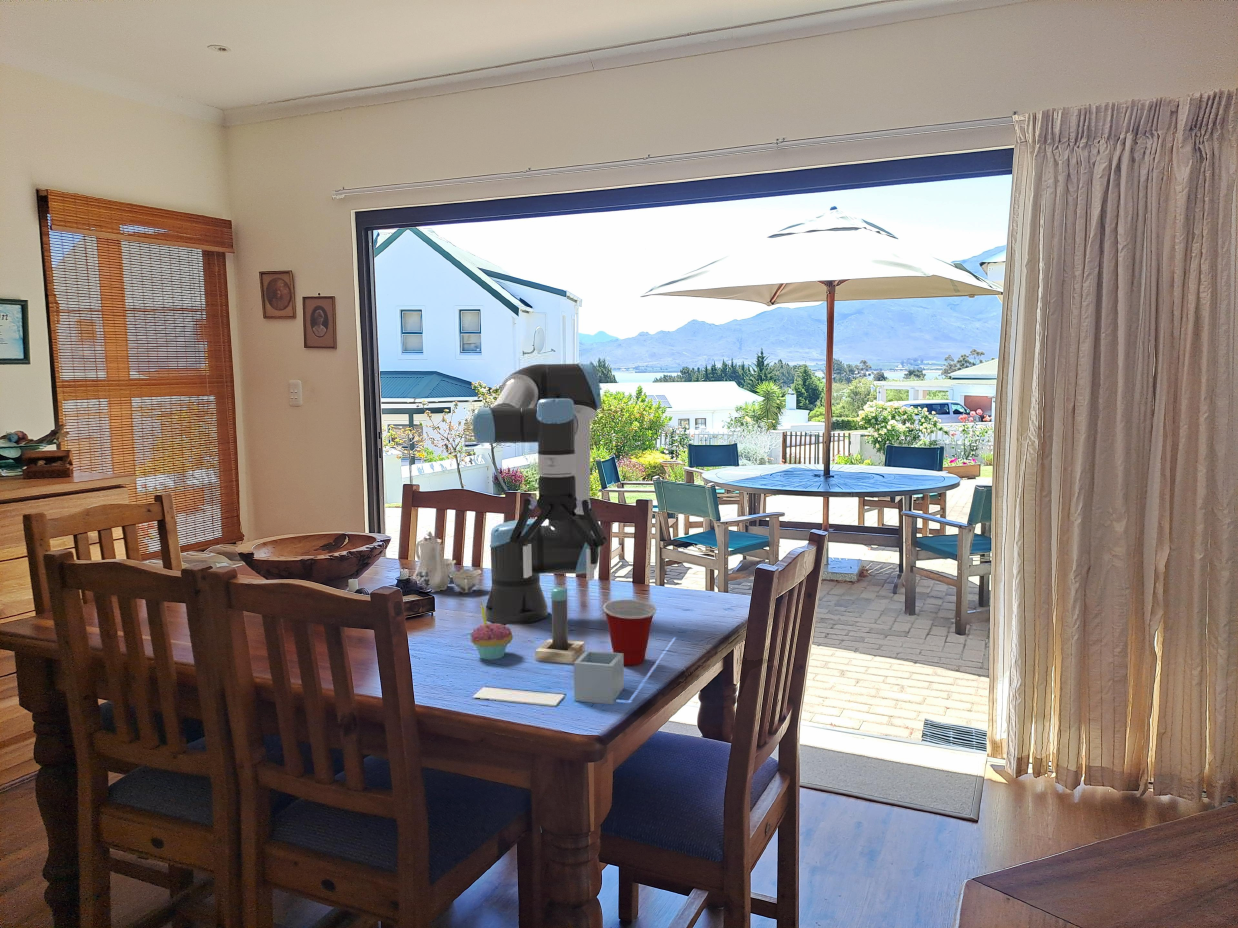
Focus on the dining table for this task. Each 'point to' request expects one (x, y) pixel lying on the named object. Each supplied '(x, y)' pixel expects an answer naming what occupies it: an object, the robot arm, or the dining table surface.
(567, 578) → the dining table surface
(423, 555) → the chinaware
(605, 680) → the pen pot
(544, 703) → the paper
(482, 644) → the cupcake
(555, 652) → the marker stand
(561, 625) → the marker
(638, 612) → the plastic cup
